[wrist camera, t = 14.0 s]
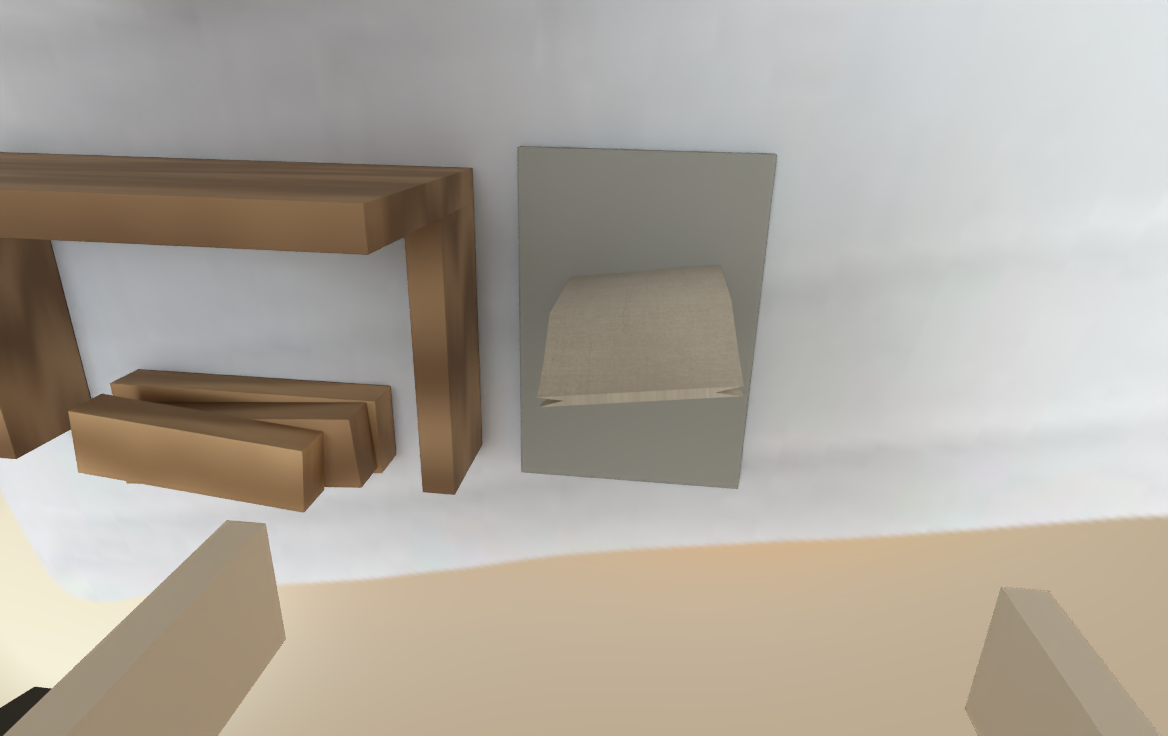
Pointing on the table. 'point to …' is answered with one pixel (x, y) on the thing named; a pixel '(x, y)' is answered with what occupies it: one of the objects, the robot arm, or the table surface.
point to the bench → (242, 221)
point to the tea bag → (641, 339)
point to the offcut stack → (236, 435)
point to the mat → (628, 244)
